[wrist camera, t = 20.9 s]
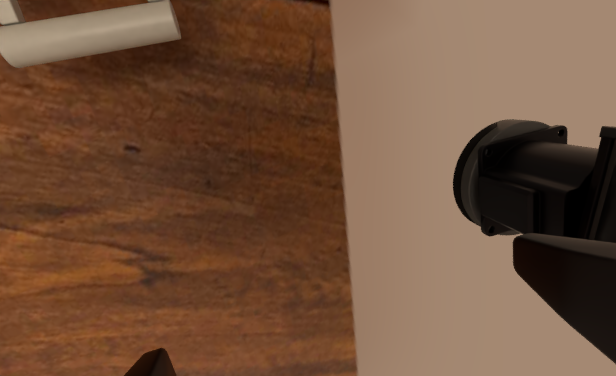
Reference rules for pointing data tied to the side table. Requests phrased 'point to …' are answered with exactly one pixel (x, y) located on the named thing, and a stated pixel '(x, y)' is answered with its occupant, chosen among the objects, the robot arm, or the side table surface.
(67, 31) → the drawer
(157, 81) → the side table surface
